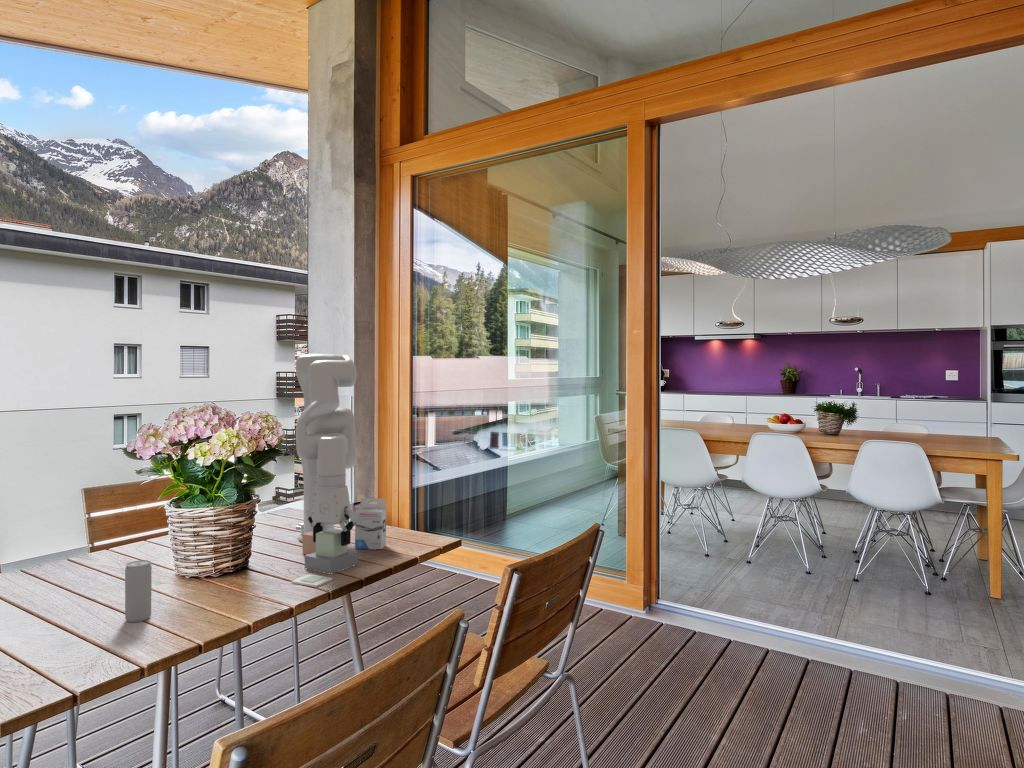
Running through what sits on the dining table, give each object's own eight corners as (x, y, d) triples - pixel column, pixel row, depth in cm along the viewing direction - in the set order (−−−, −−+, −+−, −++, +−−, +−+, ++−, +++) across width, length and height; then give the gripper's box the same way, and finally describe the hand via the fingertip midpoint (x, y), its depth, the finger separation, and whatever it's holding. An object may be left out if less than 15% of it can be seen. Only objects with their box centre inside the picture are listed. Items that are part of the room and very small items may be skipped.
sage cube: (315, 555, 164) (315, 533, 164) (330, 549, 170) (330, 528, 170) (333, 557, 162) (333, 535, 162) (347, 551, 168) (347, 530, 168)
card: (291, 583, 152) (291, 580, 152) (308, 576, 158) (308, 573, 158) (316, 587, 149) (316, 584, 149) (332, 580, 155) (332, 577, 155)
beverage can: (146, 613, 133) (146, 558, 133) (155, 618, 130) (155, 562, 130) (121, 619, 129) (121, 563, 129) (130, 625, 126) (129, 568, 126)
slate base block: (304, 570, 164) (304, 555, 164) (332, 560, 173) (332, 546, 173) (330, 576, 159) (330, 561, 159) (358, 566, 168) (358, 551, 168)
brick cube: (302, 554, 178) (302, 534, 178) (316, 549, 184) (316, 529, 184) (318, 556, 176) (318, 536, 176) (332, 551, 181) (332, 531, 181)
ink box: (354, 549, 183) (354, 500, 183) (359, 545, 188) (359, 497, 188) (381, 550, 182) (381, 501, 182) (386, 545, 187) (386, 498, 187)
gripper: (297, 480, 166) (297, 542, 166) (347, 485, 159) (347, 549, 159) (316, 477, 173) (316, 536, 173) (365, 481, 166) (365, 543, 166)
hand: (331, 542), depth 166 cm, fingers open, 9 cm apart
